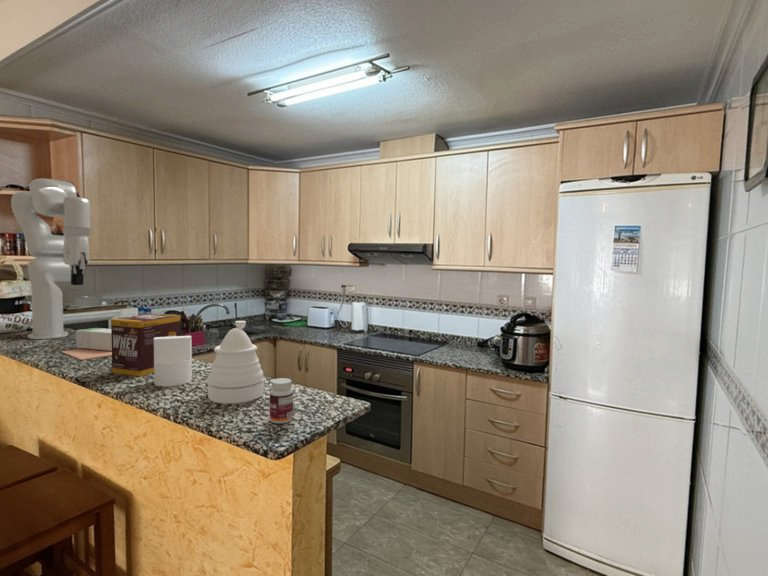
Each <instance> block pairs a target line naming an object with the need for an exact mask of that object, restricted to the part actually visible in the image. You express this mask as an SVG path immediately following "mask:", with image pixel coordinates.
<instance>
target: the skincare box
mask: <svg viewBox="0 0 768 576" xmlns="http://www.w3.org/2000/svg"><path fill="white" fill-rule="evenodd" d="M75 333H76V335H75V348H76V349H81V348H86V349H97V350H108V351H112V338H111V328H104V327H102V328H101V327H93V328H85V329H84V328H83V329H77V330H75Z"/></svg>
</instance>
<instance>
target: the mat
mask: <svg viewBox="0 0 768 576" xmlns="http://www.w3.org/2000/svg"><path fill="white" fill-rule="evenodd" d="M60 352H61V354H64V353H65V354H64V355H67V356H69V355H70V357H73V358H74V357H75V358H74V359H76V360H79V361H86V360H91V359H92V360H93V359H98V358H99V359H100V358H104V357H112V351H108V350H97V349H86V348H76V349H69V350H61V351H60Z"/></svg>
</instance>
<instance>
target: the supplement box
mask: <svg viewBox="0 0 768 576" xmlns="http://www.w3.org/2000/svg"><path fill="white" fill-rule="evenodd" d="M181 320H182V317H181V315H179V314H169V313H167V314H166V313H155V312H154V313H147V314H140V315H133V316H126V317H118V318H111V319H110V321H111V322H110V324H111V325H110V329H111V338H112V356H111V373H112V374H118V375H126V376H133V377H143V376H146V375H150V374H154V338H155V337H172V336H182V334H181V333H182V332H181V329H182V328H181V327H182V326H181V325H182V324H181Z"/></svg>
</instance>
